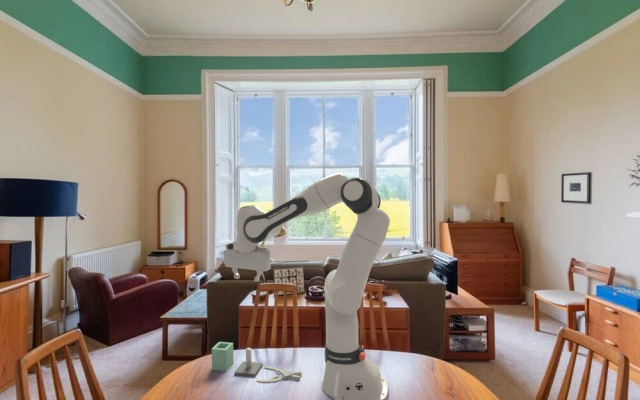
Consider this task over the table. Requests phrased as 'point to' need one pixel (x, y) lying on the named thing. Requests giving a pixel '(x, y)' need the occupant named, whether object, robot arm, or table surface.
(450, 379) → the table surface
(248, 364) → the post stand
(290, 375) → the pliers
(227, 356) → the sleeve
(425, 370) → the table surface
